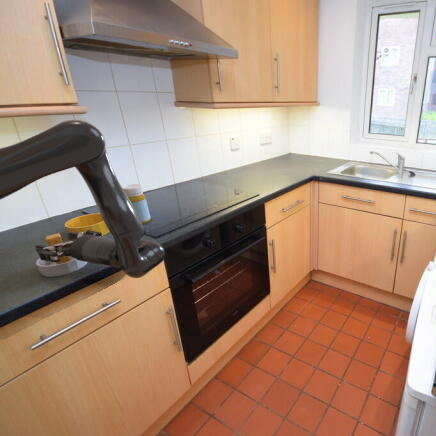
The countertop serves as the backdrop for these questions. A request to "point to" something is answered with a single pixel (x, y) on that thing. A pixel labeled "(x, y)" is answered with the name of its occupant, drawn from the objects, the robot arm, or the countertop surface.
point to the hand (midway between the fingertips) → (54, 241)
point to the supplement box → (56, 240)
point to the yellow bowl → (87, 224)
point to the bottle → (138, 201)
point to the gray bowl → (59, 267)
